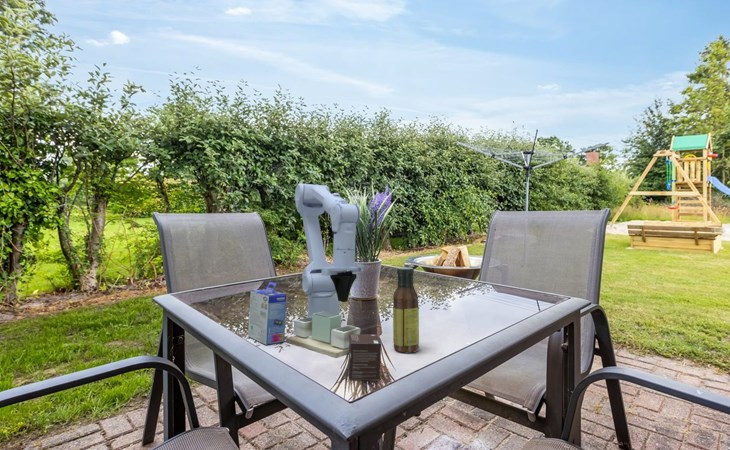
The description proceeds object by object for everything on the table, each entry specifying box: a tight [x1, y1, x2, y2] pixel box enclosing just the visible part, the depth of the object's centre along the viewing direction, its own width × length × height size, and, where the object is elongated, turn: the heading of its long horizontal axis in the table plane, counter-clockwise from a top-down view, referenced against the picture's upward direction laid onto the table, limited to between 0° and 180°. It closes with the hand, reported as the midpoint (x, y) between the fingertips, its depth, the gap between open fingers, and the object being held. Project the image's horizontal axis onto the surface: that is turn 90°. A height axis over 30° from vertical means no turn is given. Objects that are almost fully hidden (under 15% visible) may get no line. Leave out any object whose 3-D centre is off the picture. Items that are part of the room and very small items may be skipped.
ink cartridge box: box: [247, 281, 287, 346], centre depth 97 cm, size 10×6×14 cm, turn 44°
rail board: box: [285, 317, 361, 359], centre depth 95 cm, size 11×17×5 cm, turn 52°
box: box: [347, 333, 382, 382], centre depth 76 cm, size 6×6×7 cm
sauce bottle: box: [392, 266, 420, 353], centre depth 92 cm, size 7×6×20 cm
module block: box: [312, 311, 342, 343], centre depth 95 cm, size 4×6×6 cm, turn 52°
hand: (342, 301), depth 99 cm, fingers closed
